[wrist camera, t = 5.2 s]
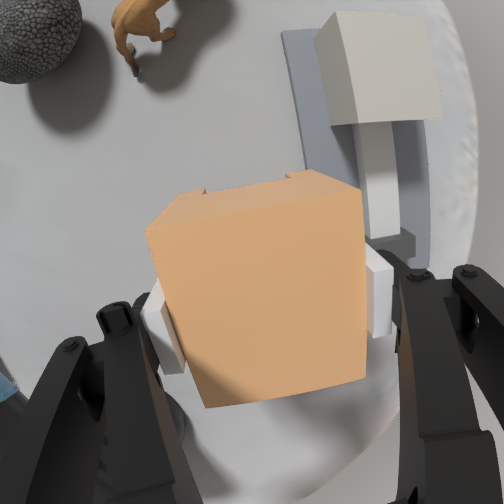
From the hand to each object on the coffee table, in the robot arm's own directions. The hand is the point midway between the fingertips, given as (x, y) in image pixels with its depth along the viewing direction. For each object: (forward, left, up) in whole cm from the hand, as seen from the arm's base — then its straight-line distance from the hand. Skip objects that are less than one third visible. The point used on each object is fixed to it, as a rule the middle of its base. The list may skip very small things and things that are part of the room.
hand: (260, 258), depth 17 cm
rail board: (+11, +3, -13) cm, 17 cm away
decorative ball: (-16, +21, -13) cm, 29 cm away
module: (0, 0, -1) cm, 1 cm away
